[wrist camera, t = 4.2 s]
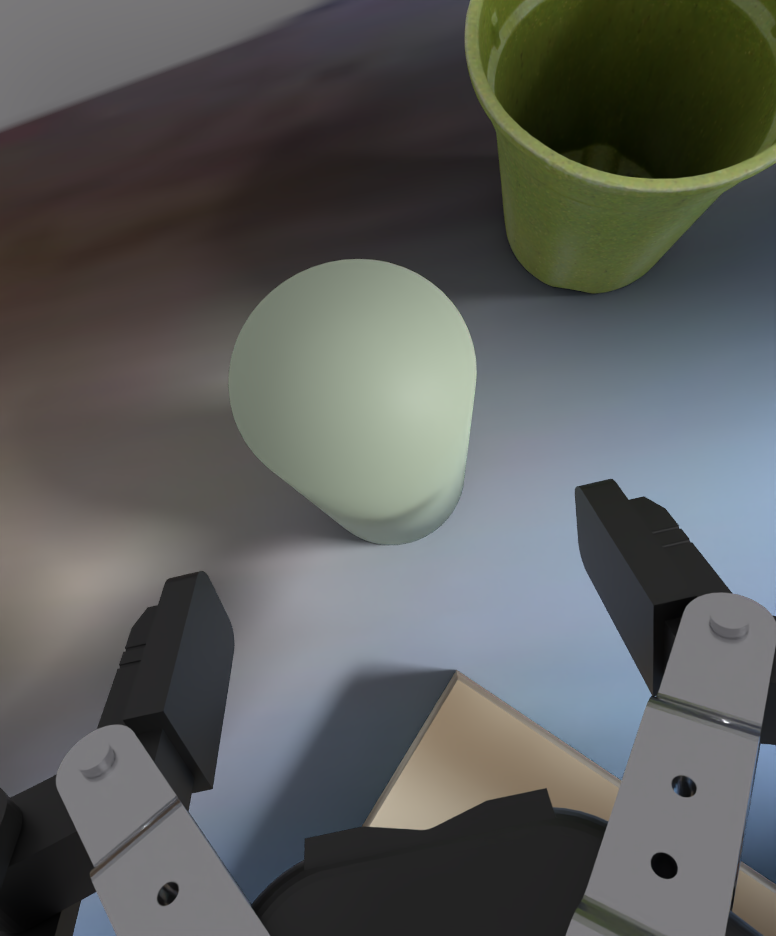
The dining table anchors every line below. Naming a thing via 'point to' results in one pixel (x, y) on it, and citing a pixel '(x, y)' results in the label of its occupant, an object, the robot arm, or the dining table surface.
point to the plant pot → (620, 123)
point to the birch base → (512, 778)
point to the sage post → (359, 395)
